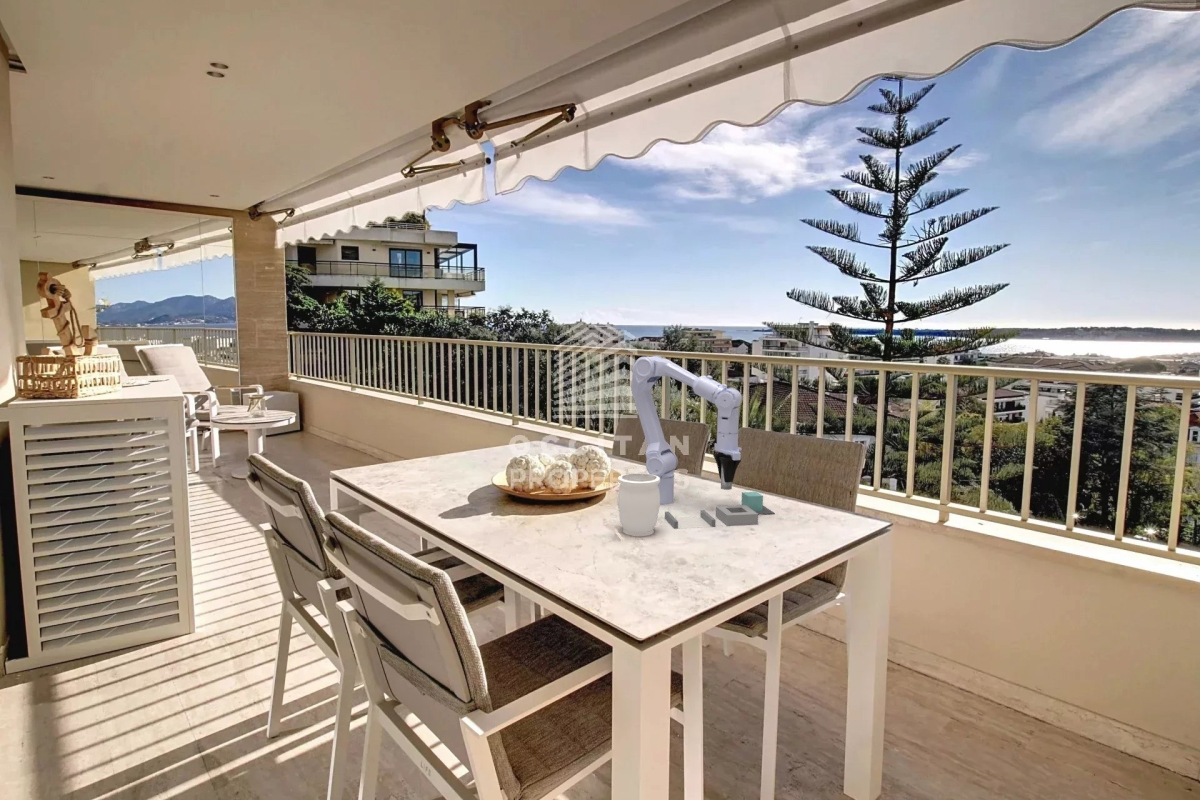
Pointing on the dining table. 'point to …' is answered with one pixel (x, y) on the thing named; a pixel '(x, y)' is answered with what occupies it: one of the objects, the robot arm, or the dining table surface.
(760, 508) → the block
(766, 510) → the pad
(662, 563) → the dining table surface
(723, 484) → the rod
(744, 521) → the grey blocks
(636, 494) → the jar
